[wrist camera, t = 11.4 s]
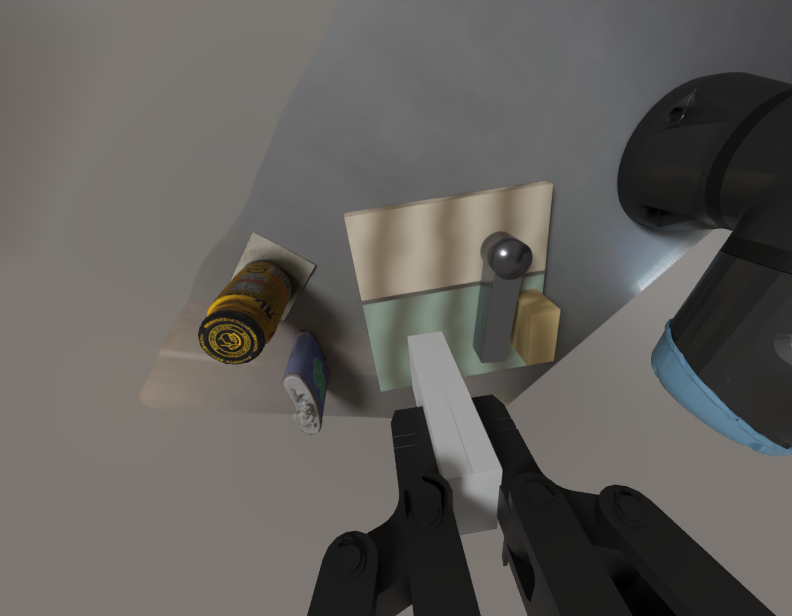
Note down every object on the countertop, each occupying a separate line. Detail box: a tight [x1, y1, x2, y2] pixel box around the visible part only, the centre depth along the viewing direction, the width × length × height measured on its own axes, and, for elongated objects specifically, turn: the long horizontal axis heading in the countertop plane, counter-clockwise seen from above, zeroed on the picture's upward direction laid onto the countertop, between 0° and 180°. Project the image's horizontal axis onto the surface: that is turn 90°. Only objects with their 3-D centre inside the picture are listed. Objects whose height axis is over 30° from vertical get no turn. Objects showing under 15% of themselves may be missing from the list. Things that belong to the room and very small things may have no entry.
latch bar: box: [472, 231, 533, 363], centre depth 37 cm, size 15×4×4 cm, turn 0°
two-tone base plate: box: [344, 181, 560, 392], centre depth 37 cm, size 22×24×8 cm
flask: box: [282, 331, 329, 435], centre depth 38 cm, size 9×3×11 cm, turn 9°
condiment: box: [198, 232, 315, 364], centre depth 32 cm, size 7×8×12 cm
